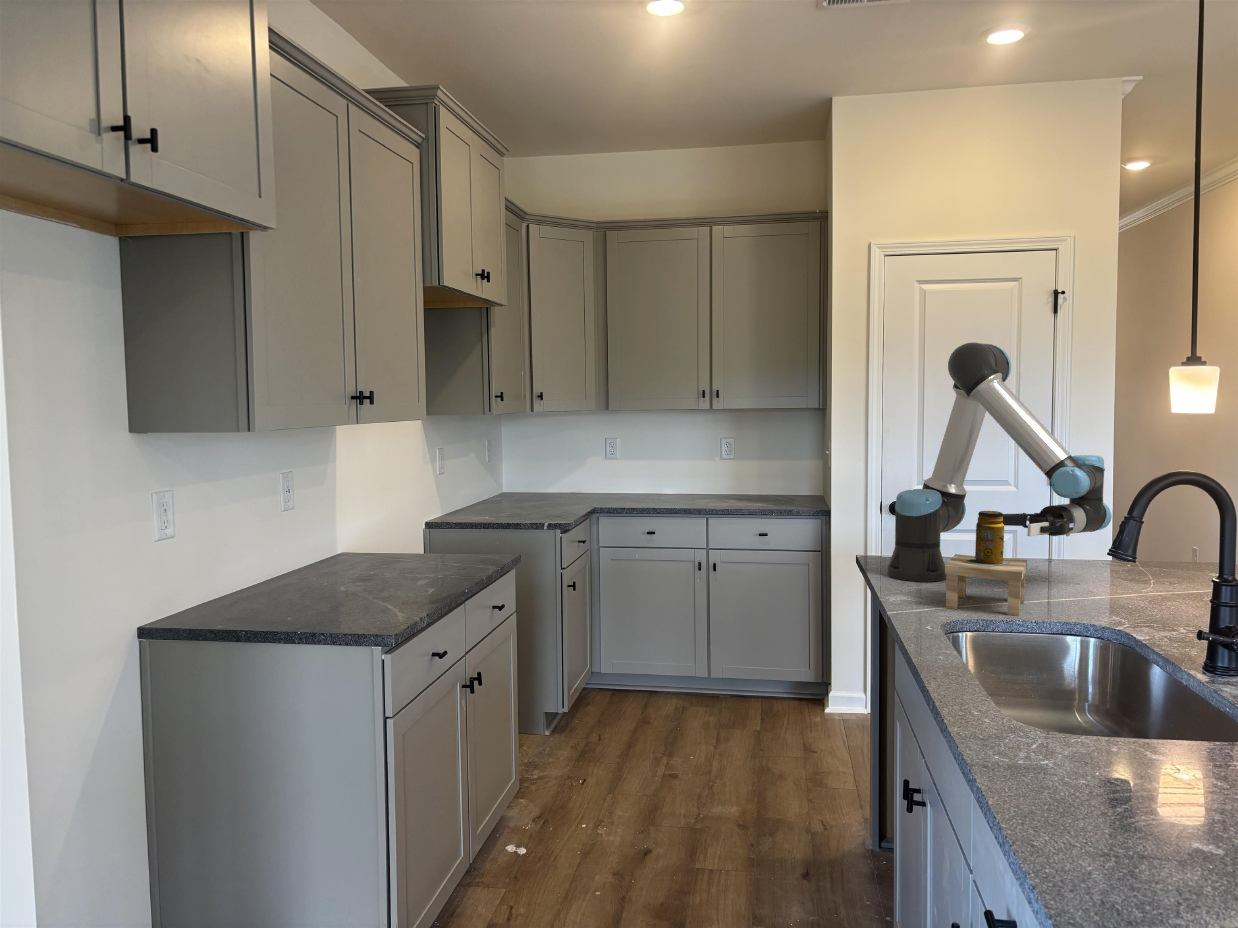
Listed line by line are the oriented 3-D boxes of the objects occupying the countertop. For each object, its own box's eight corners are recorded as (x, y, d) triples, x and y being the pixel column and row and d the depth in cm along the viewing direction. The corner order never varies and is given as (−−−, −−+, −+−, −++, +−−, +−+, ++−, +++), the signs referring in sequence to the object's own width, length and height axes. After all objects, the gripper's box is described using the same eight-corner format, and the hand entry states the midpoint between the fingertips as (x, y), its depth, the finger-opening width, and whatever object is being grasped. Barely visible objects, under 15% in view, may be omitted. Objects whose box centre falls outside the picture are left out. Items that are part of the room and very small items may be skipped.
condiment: (1011, 563, 194) (1012, 512, 193) (989, 567, 190) (991, 515, 189) (982, 558, 200) (984, 509, 199) (961, 562, 196) (962, 511, 195)
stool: (954, 593, 206) (955, 554, 206) (1025, 601, 198) (1026, 560, 198) (944, 607, 193) (945, 565, 192) (1020, 616, 185) (1021, 572, 184)
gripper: (1109, 542, 195) (1051, 550, 185) (1016, 528, 217) (959, 534, 207) (1110, 510, 194) (1052, 517, 185) (1016, 499, 217) (960, 505, 207)
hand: (1003, 526), depth 196 cm, fingers open, 13 cm apart
